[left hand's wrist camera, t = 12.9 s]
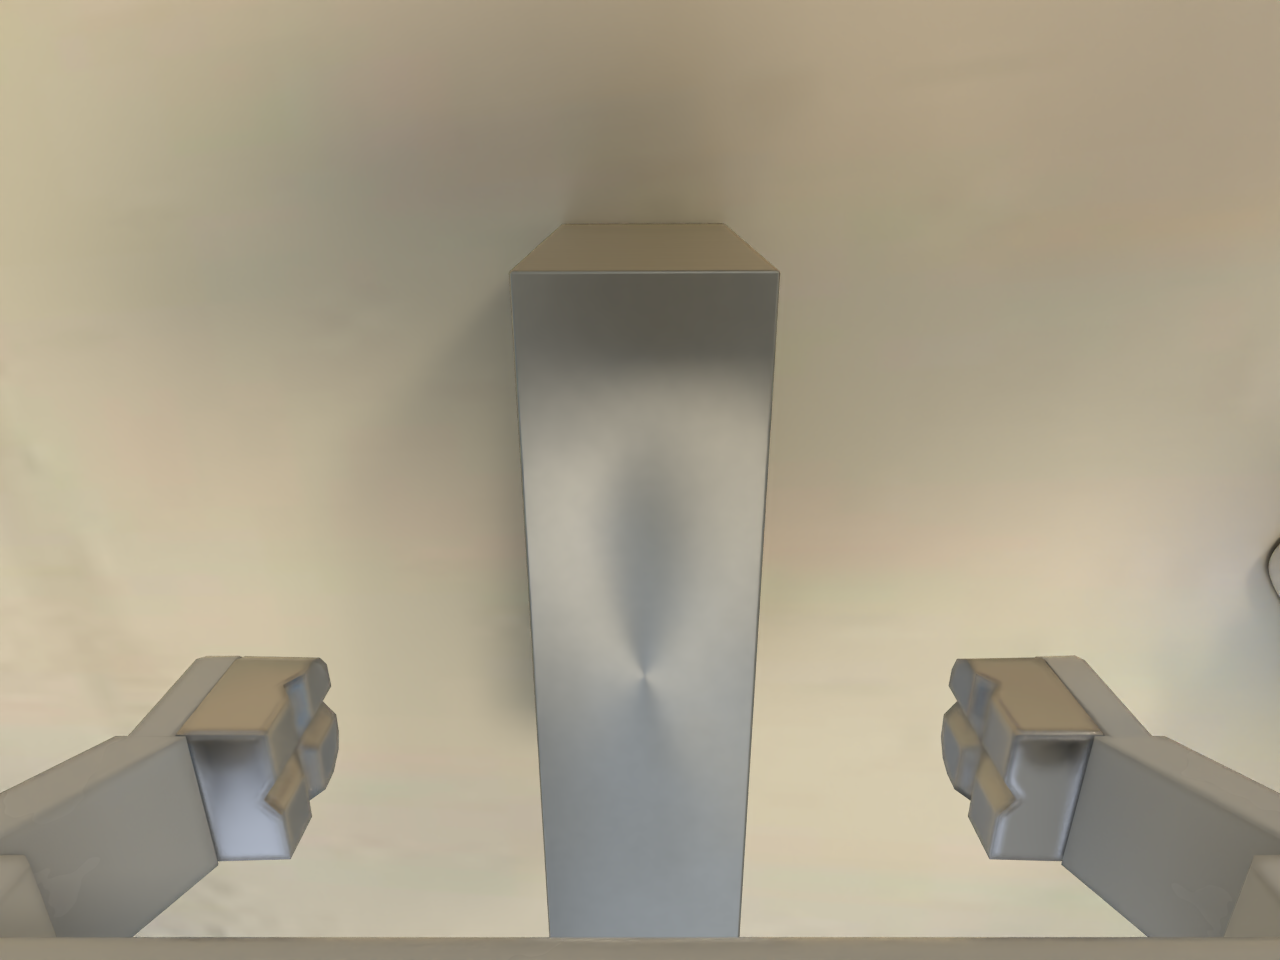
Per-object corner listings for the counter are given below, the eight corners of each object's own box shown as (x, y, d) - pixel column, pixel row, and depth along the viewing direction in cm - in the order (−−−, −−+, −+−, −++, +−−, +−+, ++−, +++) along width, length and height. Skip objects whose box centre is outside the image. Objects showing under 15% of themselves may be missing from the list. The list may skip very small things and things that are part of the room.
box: (561, 224, 30) (508, 270, 18) (725, 223, 30) (780, 270, 18) (578, 705, 37) (550, 956, 26) (708, 705, 37) (738, 956, 26)
